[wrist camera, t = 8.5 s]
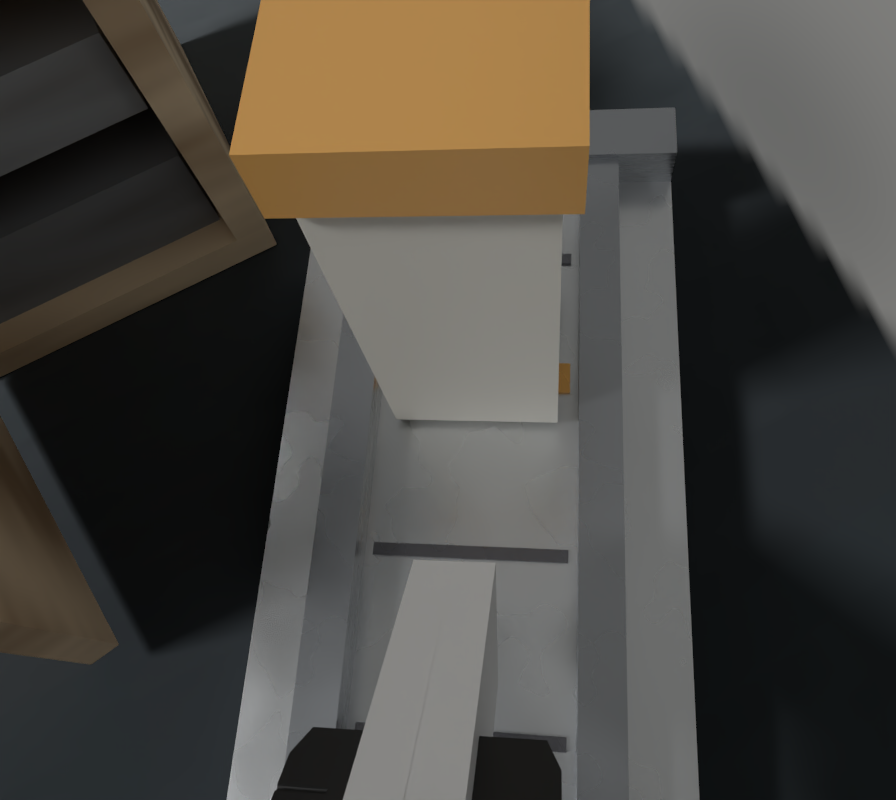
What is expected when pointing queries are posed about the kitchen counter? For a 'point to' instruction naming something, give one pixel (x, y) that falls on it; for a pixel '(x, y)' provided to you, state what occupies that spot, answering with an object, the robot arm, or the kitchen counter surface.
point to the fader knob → (429, 183)
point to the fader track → (502, 515)
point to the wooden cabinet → (95, 243)
